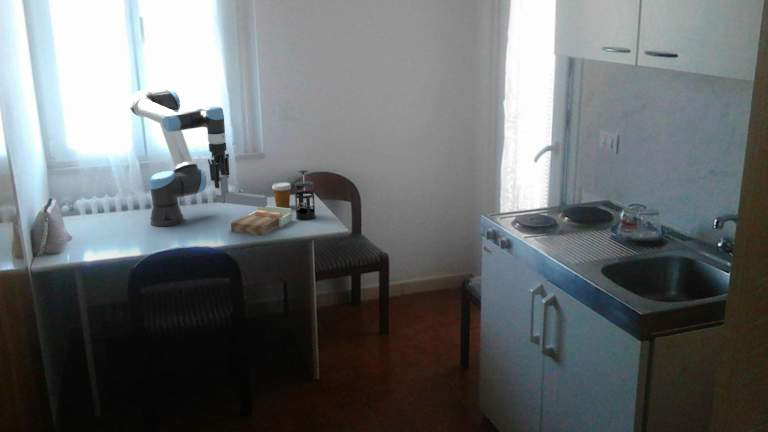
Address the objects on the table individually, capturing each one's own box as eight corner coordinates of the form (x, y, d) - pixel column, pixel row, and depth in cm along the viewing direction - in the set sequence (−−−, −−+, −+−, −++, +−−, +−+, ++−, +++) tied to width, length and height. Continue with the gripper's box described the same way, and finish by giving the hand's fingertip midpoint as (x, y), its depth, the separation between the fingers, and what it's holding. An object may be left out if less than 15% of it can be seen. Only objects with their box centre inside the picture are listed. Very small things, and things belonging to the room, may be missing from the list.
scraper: (216, 202, 324) (214, 176, 320) (221, 199, 327) (219, 174, 324) (263, 207, 316) (261, 181, 312) (267, 205, 319) (266, 179, 316)
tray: (248, 223, 335) (247, 210, 333) (259, 217, 344) (259, 205, 342) (281, 227, 328) (280, 214, 326) (292, 220, 337) (291, 208, 335)
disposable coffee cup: (291, 210, 354) (289, 186, 350) (271, 210, 354) (270, 187, 351) (293, 204, 363) (292, 181, 360) (274, 205, 363) (273, 182, 360)
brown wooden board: (231, 231, 324) (230, 222, 322) (247, 223, 335) (246, 214, 334) (263, 235, 317) (262, 226, 316) (278, 226, 328) (278, 218, 327)
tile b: (268, 213, 329) (272, 211, 332) (269, 223, 331) (273, 222, 334) (278, 214, 328) (281, 212, 330) (279, 225, 329) (282, 223, 332)
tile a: (255, 211, 333) (258, 209, 335) (255, 221, 334) (259, 220, 337) (264, 212, 331) (267, 211, 333) (264, 223, 332) (268, 221, 335)
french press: (319, 219, 339) (316, 171, 332) (300, 222, 335) (297, 174, 328) (310, 212, 349) (307, 166, 342) (291, 215, 345) (289, 169, 338)
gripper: (213, 146, 308) (218, 199, 315) (234, 139, 323) (239, 189, 330) (198, 145, 310) (203, 197, 317) (220, 138, 326) (224, 188, 333)
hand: (221, 193), depth 324 cm, fingers closed on scraper, 4 cm apart
